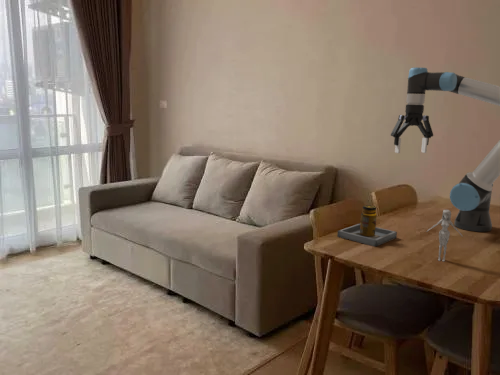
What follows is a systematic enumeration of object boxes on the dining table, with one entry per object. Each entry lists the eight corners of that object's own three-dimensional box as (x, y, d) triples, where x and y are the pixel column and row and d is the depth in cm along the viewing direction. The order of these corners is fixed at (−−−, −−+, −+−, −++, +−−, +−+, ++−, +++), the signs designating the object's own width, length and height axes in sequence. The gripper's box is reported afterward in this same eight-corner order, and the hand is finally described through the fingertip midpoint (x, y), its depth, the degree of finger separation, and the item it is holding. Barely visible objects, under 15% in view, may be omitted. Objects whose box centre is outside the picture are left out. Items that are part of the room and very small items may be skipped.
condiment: (379, 236, 195) (382, 207, 193) (363, 239, 191) (365, 209, 188) (366, 231, 201) (369, 203, 199) (351, 234, 197) (353, 205, 195)
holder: (396, 237, 197) (396, 231, 196) (375, 246, 184) (375, 240, 184) (359, 229, 208) (359, 223, 208) (337, 236, 196) (337, 230, 195)
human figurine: (423, 258, 173) (428, 208, 169) (424, 255, 176) (429, 206, 173) (459, 264, 168) (465, 213, 164) (460, 260, 171) (466, 211, 168)
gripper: (433, 104, 219) (429, 151, 223) (385, 103, 212) (381, 151, 216) (444, 104, 212) (439, 153, 216) (394, 103, 205) (390, 153, 209)
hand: (410, 152), depth 216 cm, fingers open, 13 cm apart
